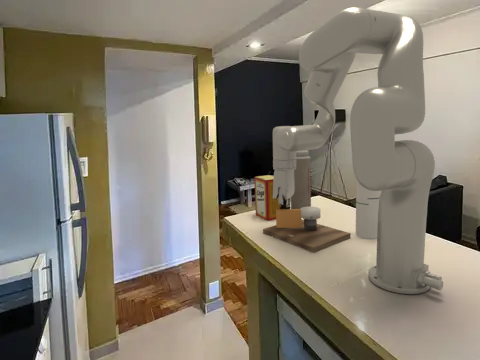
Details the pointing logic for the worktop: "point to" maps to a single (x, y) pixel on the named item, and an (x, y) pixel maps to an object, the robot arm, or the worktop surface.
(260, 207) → the baking soda box
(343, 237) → the post base
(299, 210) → the cap
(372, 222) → the cylindrical container
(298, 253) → the worktop surface
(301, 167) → the thermos bottle
